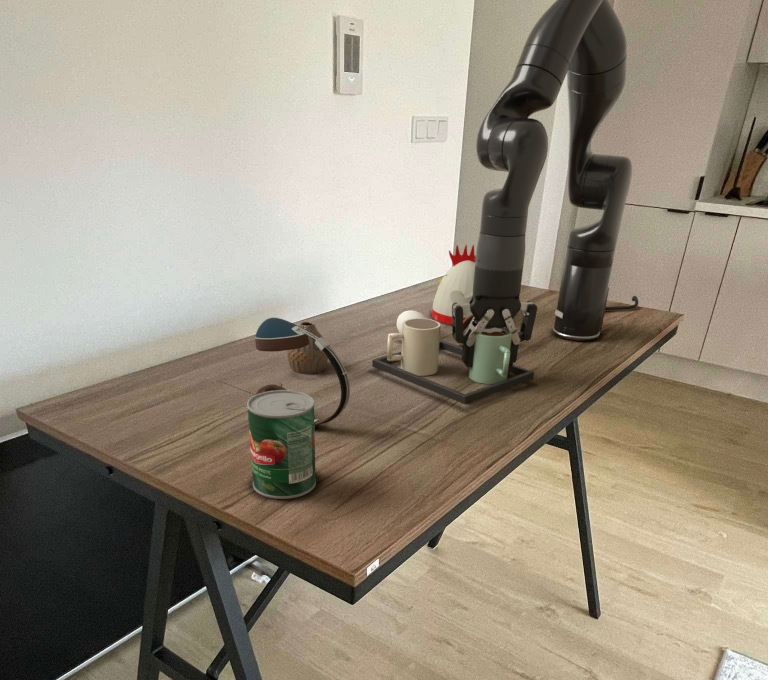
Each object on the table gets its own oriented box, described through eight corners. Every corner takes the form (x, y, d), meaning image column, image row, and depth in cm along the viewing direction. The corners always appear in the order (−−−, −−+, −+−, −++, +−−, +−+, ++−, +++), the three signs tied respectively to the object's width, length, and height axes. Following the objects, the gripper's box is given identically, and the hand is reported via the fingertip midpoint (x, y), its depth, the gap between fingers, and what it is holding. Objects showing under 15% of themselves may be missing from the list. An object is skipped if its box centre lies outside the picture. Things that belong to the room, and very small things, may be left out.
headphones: (204, 406, 106) (333, 449, 100) (202, 306, 98) (343, 347, 91) (228, 392, 111) (353, 433, 104) (229, 297, 103) (364, 335, 96)
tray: (440, 351, 134) (441, 340, 133) (532, 384, 121) (534, 371, 119) (371, 372, 124) (372, 359, 122) (464, 410, 110) (465, 396, 109)
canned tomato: (240, 491, 87) (233, 408, 81) (271, 464, 93) (267, 385, 87) (298, 504, 84) (295, 420, 79) (326, 476, 91) (325, 396, 85)
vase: (335, 371, 123) (335, 321, 119) (316, 383, 118) (314, 332, 113) (301, 364, 126) (299, 315, 121) (280, 376, 120) (278, 325, 116)
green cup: (462, 372, 121) (466, 326, 117) (495, 369, 123) (500, 323, 119) (486, 391, 114) (492, 343, 110) (521, 387, 116) (528, 340, 112)
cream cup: (430, 362, 126) (433, 317, 121) (442, 374, 120) (446, 328, 116) (381, 365, 123) (382, 319, 119) (392, 378, 118) (393, 331, 114)
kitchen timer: (434, 306, 161) (439, 236, 153) (495, 310, 160) (502, 240, 152) (429, 323, 149) (434, 249, 142) (494, 327, 148) (503, 253, 140)
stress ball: (429, 360, 139) (447, 330, 138) (403, 342, 134) (422, 311, 133) (407, 347, 145) (425, 318, 143) (382, 330, 139) (399, 300, 138)
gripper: (461, 269, 106) (452, 375, 115) (551, 267, 108) (536, 371, 117) (448, 258, 112) (442, 359, 121) (534, 257, 115) (521, 356, 123)
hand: (488, 365), depth 119 cm, fingers closed on green cup, 6 cm apart
